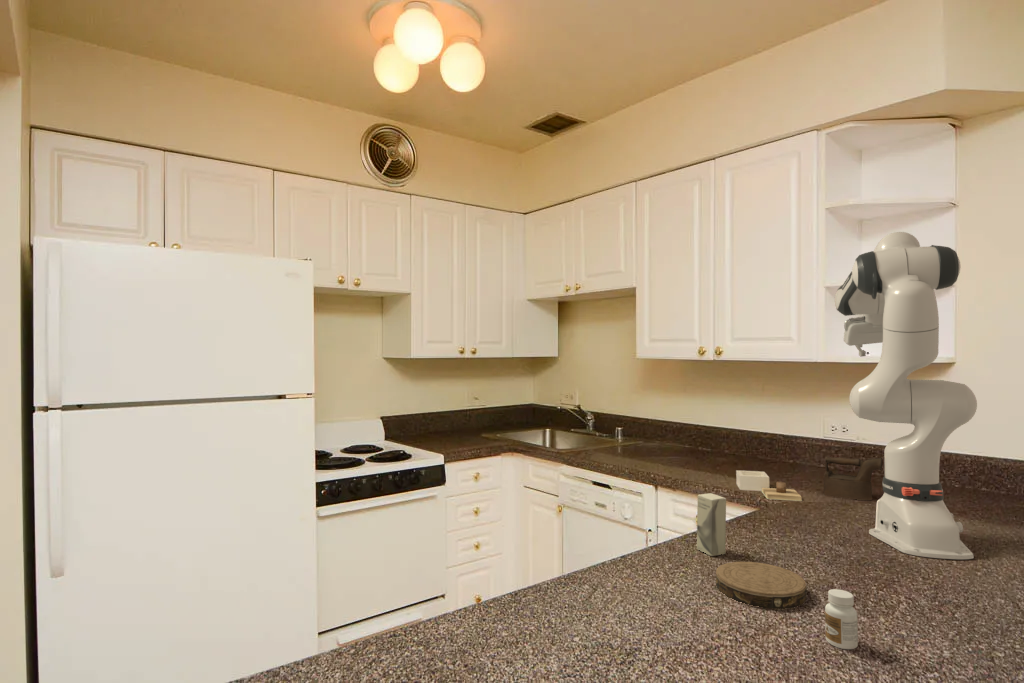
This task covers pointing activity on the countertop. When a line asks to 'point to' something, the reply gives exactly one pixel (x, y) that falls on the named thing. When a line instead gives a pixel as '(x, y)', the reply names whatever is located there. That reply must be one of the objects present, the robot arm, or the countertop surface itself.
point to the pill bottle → (841, 620)
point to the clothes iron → (850, 478)
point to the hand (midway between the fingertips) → (877, 354)
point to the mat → (780, 499)
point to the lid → (781, 492)
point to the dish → (752, 480)
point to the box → (711, 524)
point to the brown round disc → (761, 585)
